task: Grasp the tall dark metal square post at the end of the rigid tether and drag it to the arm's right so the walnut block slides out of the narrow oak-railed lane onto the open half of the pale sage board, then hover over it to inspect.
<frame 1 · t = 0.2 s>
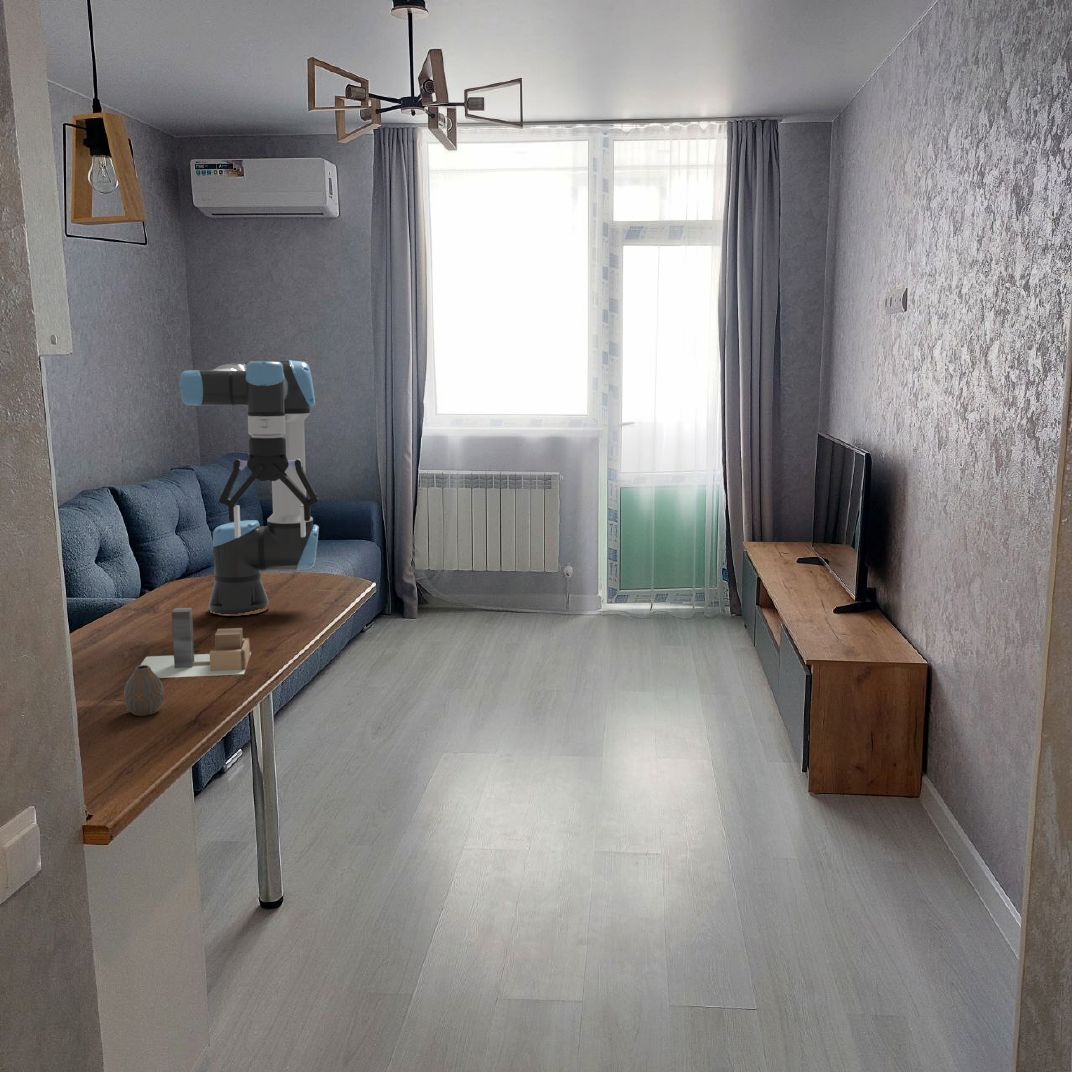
hand: (270, 536, 212), 28 cm above the breakfast bar, fingers open, 13 cm apart
tether block: (230, 663, 212), point 1 cm above the breakfast bar, touching lane shelf
vase: (145, 713, 185), on the breakfast bar
lane shelf: (194, 669, 211), on the breakfast bar
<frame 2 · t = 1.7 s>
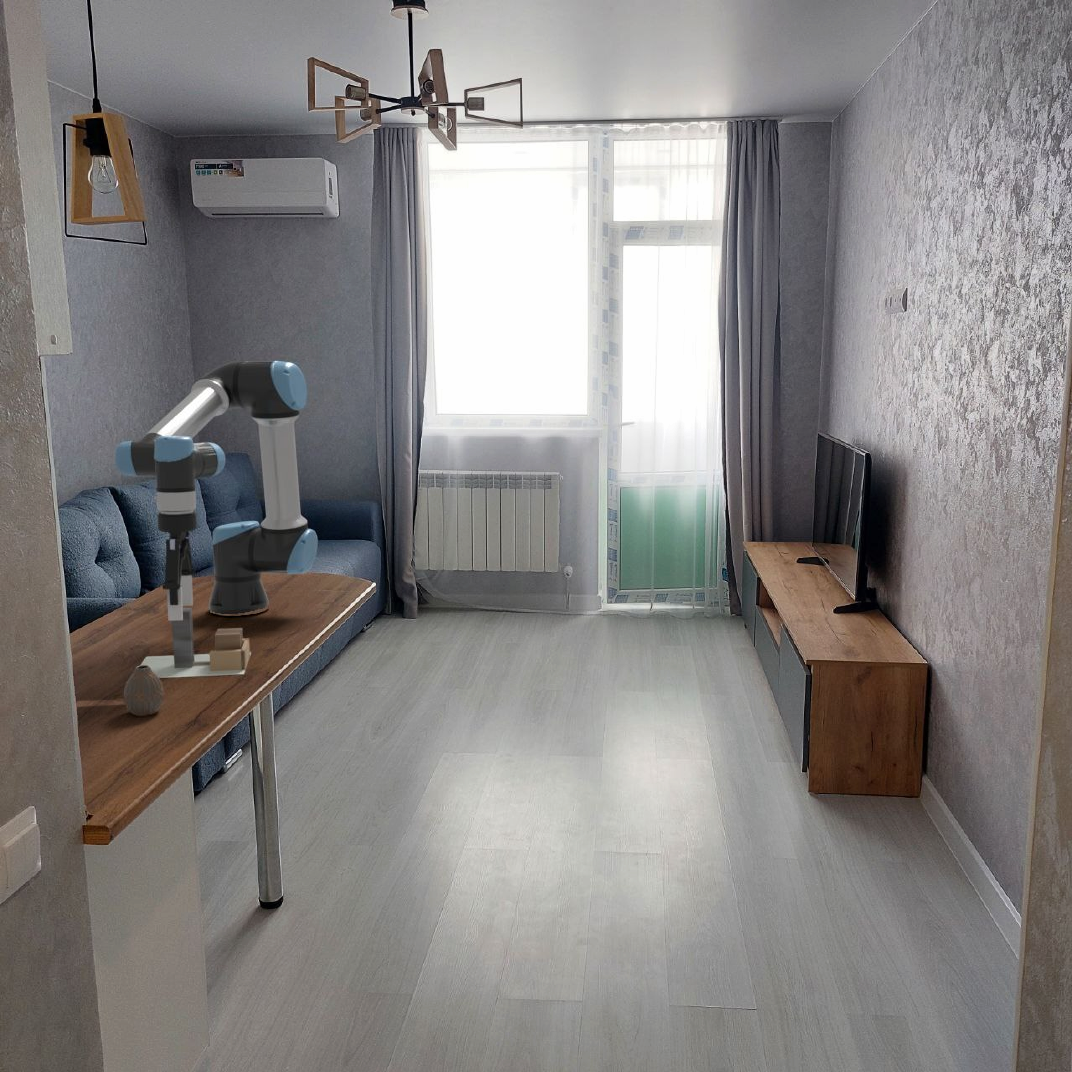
hand: (181, 612, 208), 13 cm above the breakfast bar, fingers open, 13 cm apart
nothing on the breakfast bar moved.
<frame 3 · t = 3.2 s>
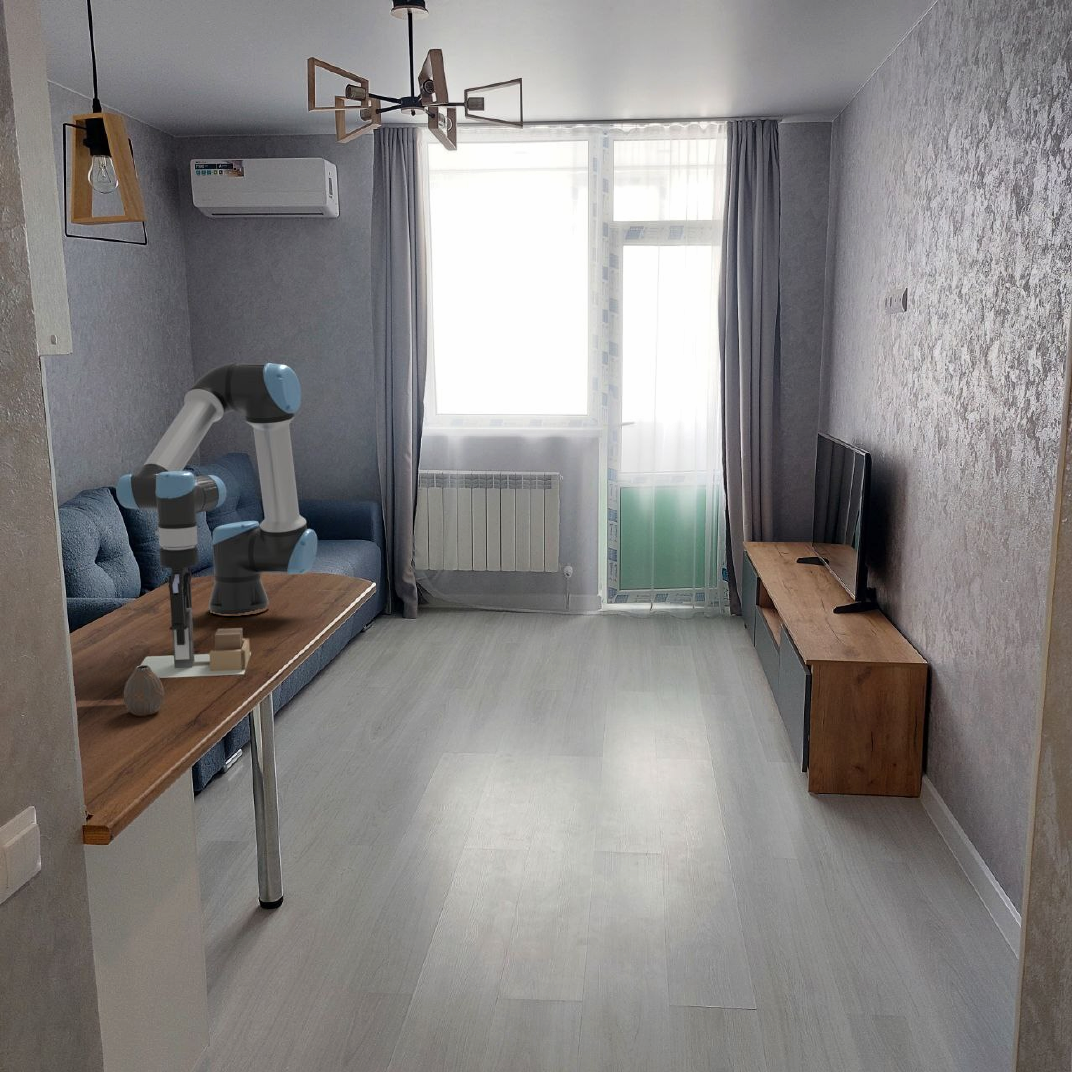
hand: (184, 655, 210), 3 cm above the breakfast bar, fingers closed on tether block, 3 cm apart
tether block: (230, 663, 212), point 1 cm above the breakfast bar, touching gripper, lane shelf
everything else where it was.
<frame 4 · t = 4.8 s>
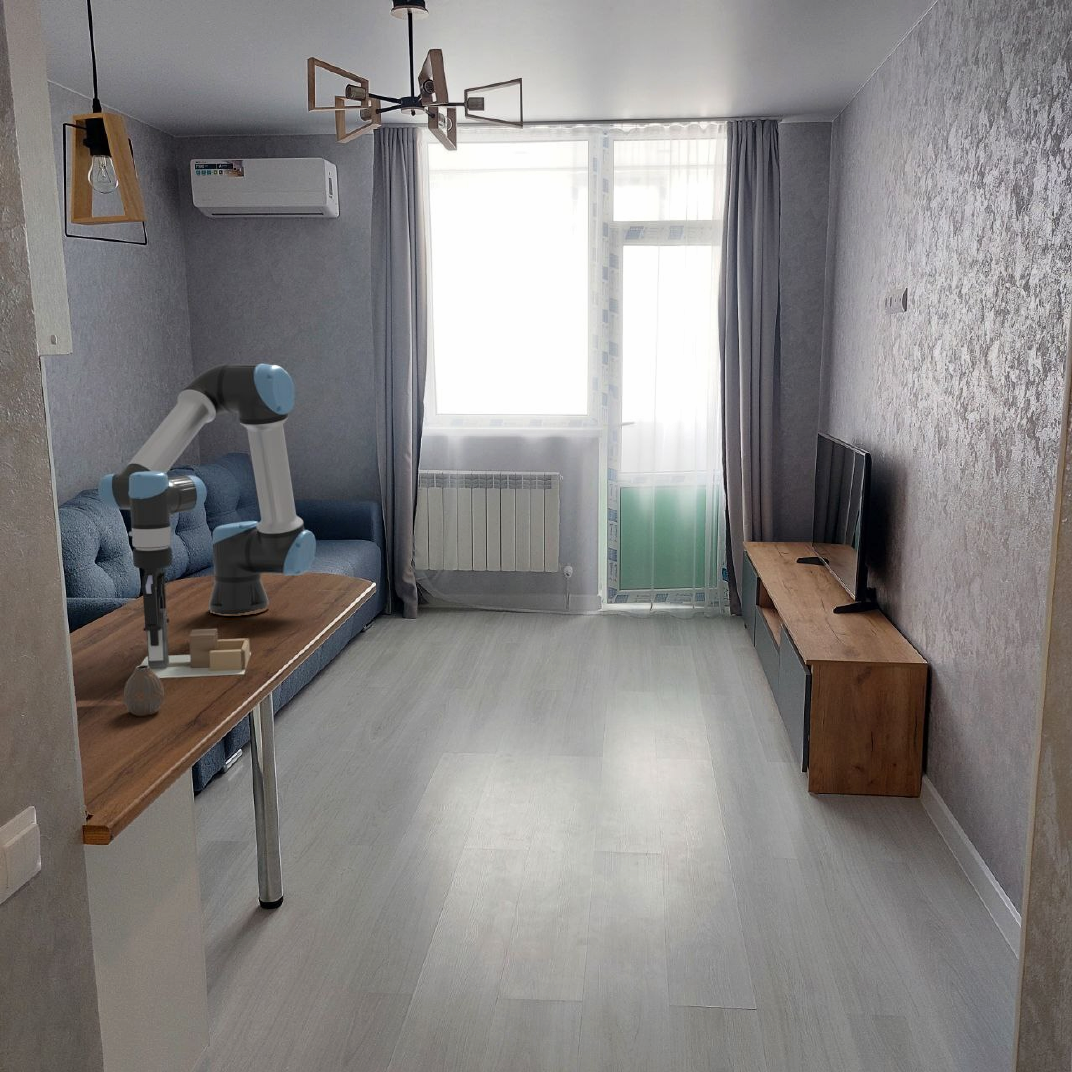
hand: (158, 656, 209), 3 cm above the breakfast bar, fingers closed on tether block, 3 cm apart
tether block: (204, 664, 211), point 1 cm above the breakfast bar, touching gripper
everything else where it was.
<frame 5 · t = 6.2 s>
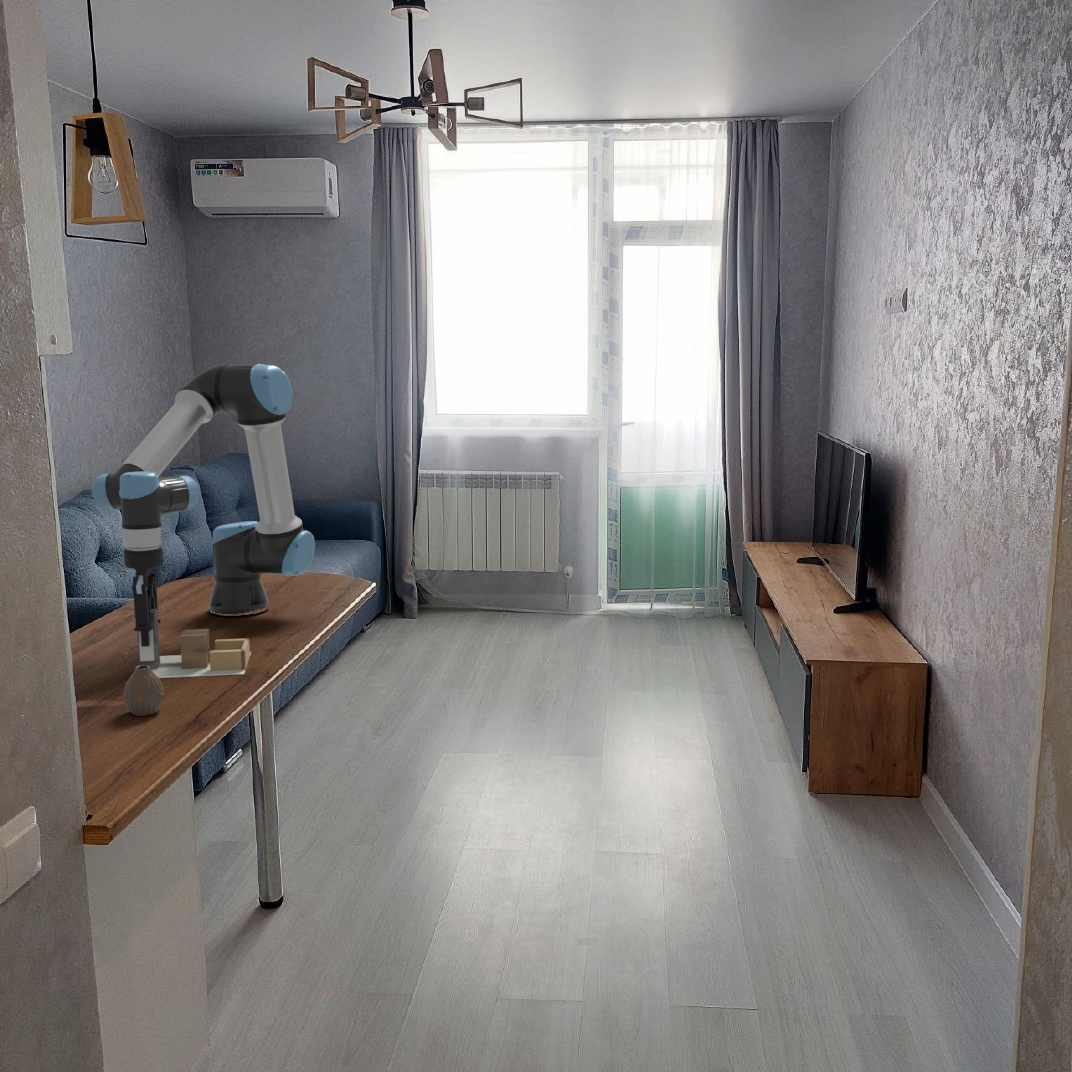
hand: (149, 657, 209), 3 cm above the breakfast bar, fingers closed on tether block, 3 cm apart
tether block: (196, 664, 211), point 1 cm above the breakfast bar, touching gripper, lane shelf
everything else where it was.
when the fingers open (3 cm above the breakfast bar, at t = 6.4 s): tether block stays where it is, resting on lane shelf.
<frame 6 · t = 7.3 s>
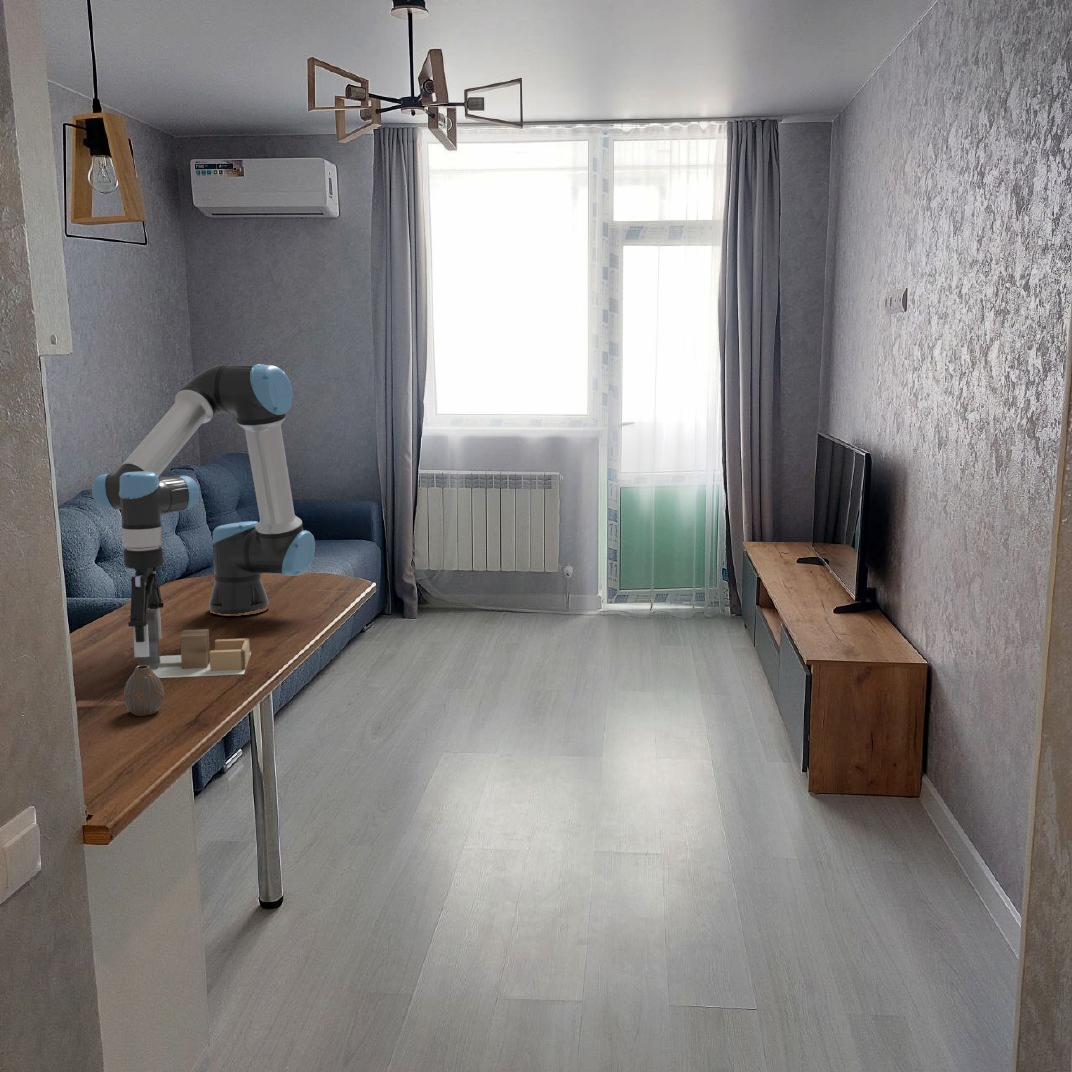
hand: (148, 647, 209), 5 cm above the breakfast bar, fingers open, 13 cm apart
tether block: (196, 664, 211), point 1 cm above the breakfast bar, touching lane shelf
everything else where it was.
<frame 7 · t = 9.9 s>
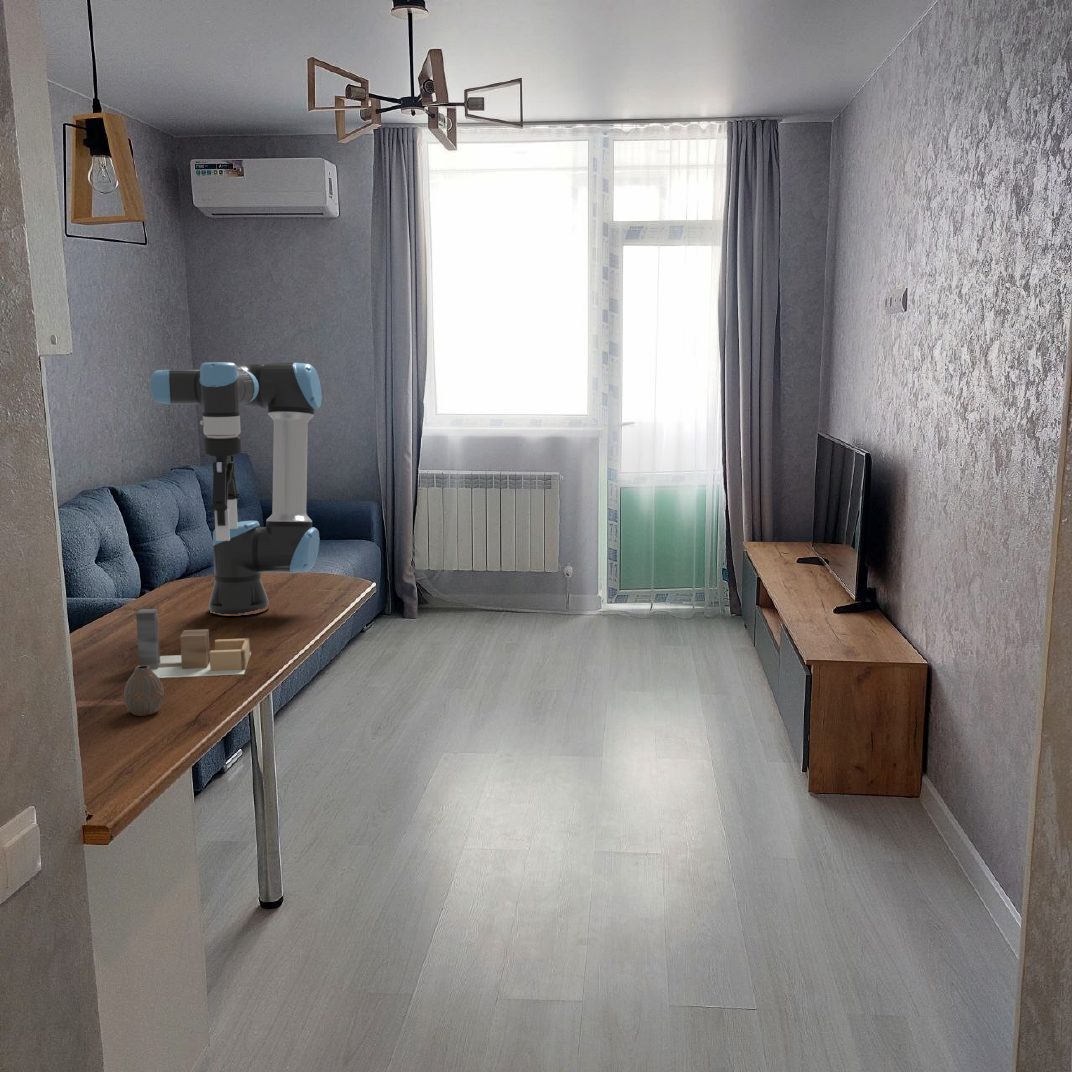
hand: (227, 534, 216), 27 cm above the breakfast bar, fingers open, 13 cm apart
nothing on the breakfast bar moved.
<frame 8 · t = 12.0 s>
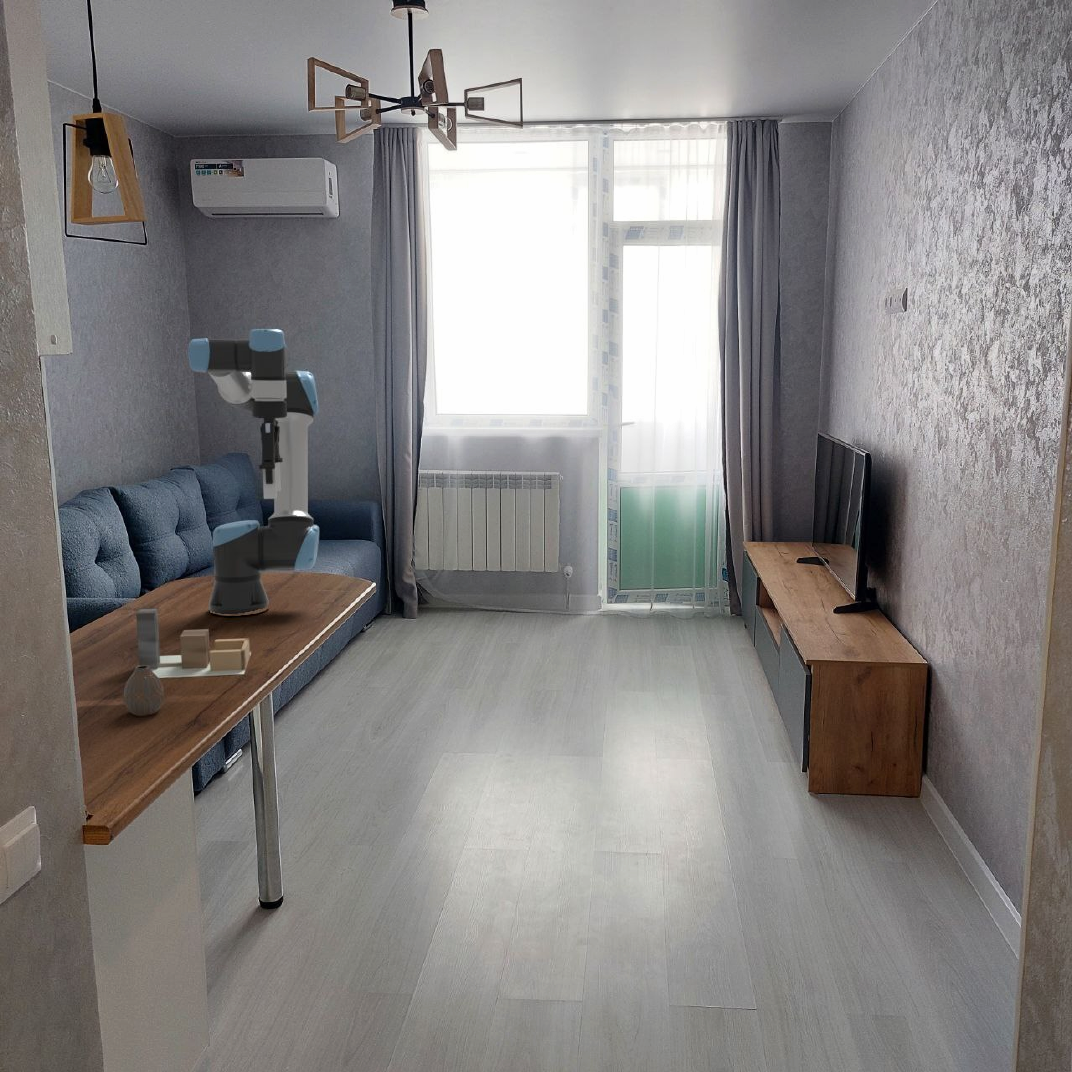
hand: (272, 494, 226), 35 cm above the breakfast bar, fingers open, 13 cm apart
nothing on the breakfast bar moved.
at the end: tether block inside the target area on the lane shelf (2.2 cm from its centre), point 1.0 cm above the lane shelf's base; tether block tilted 0°; the gripper is holding nothing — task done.
